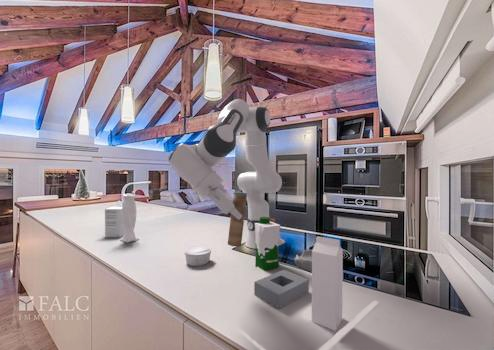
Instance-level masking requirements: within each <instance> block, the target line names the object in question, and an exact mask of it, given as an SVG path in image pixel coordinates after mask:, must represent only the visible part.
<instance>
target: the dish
mask: <svg viewBox="0 0 494 350" xmlns="http://www.w3.org/2000/svg"><path fill="white" fill-rule="evenodd" d="M312 250H313V249H305V250H303V251H302V254H301V255H300V256H299V255H298V254H296V255H295V257H294V264H295V265H296V266H297V268H298V269H300V270H303V271H306V272H311V273H312Z"/></svg>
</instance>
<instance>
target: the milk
mask: <svg viewBox="0 0 494 350" xmlns="http://www.w3.org/2000/svg"><path fill="white" fill-rule="evenodd" d="M311 250H312V272H311V322H312V323H315V324H317V325H319V326H323V327H325V328H327V329H330V330H333V331H335V332H336V331H337V329H338V327H339V325H340V324H341V322H342V320H343V284H344V283H343V280H344V279H343V277H344V276H343V274H344V272H343V269H344V268H343V266H344V264H343V263H344V261H343V260H344V258H343V255H344V253H343V252H344V250H343V248H342V247H341V242H340V240H339V239H338V238H337V239H335V238H330V237H326V236H325V237H323V236H318V235H317V236H316V238H315V243H314V246H313V249H311Z"/></svg>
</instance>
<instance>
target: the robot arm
mask: <svg viewBox="0 0 494 350" xmlns="http://www.w3.org/2000/svg"><path fill="white" fill-rule="evenodd" d="M270 124H271V115H270V111H269V109H268V108H267V107H264V106H257V107H249V104H248V103H247V102H246V101H245V100H244V99H242V98H236V99H233V100H232V101H229V103H228V104H227V105H225V106H224V107H223V109H222V110H221V111H220V113H219V115H218V117H217V120H216V124H213V125H211V126H209V127H208V129H207V130H206V132H205V134H204V135H203V137H202V139H201V140H200V141H199V143H196V144H190V145H189V144H185V143H183V142H181V143H179V144H178V145H176V147H175V148H174V149H173V151H171V154H170V155H169V157H168V164H169V165H170V167H171V168H172V169H173V171H175V173H176V174H177V175H178V176H179V177H180V178H181V179H182V180H184V181H185V182H186V183H188V184H189V185H190V187H191V189H193V191H194V192H195V193H196V194H197V195H198V196H199V197H200V198H201V199H202V200H205V199H208V200H209V201H212V202H213V204H214V205H215V206H217V208H218V209H219V210H221V212H222V213H224V214H225V215H228V214H230V215H231V214H232V215H234V216H235V217H236V218H237V219H238V220H240V219H241V218H242V214H241V213H240V212H238V210H237V209H236V208H235V206H234V203H233V196H231V194H229V192H228V191H227V190H226V189H225V186H224V184H223V183H222V182H223V181H224V179H223V178H222V177H221V176H220V175H219V174H218V173H217V172H216V171H215V170H214V169H215V168H217V167H218V165H219V164H220V163H221V162H223V160H224V159H225V158H226V157H227V156H228V155H229V154H230V153H232V152H233V151H234V150H235V148H236V145H237V144H236V143H237V134H238V133H245V135H244V136H245V137H244V139H245V140H244V143H245V158H246V161H247V163H248V164H250V165H251V166H252V167H253V169H254V170H255V171H246V172H242V173H239V175H238V176H237V179H236V180H237V181H236V185H237V187H238V189H239V190H241V192H244V193H247V199H246V204H247V213H248V215H247V216H248V217H247V219H246V221H247V225H246V226H247V232H246V238H245V239H246V240H245V243H244V246H245V247H247V248H250V249H255V250H256V232H255V223H257V222H260V217H268V218H269V221H270V222H273V223H276V222H275V221H276V219H275V218H270V204H269V202H268V201H267V200H265V199H264V198H263V197H262V193H263V194H271V193H277V192H279V191H280V190H281V188H282V186H283V180H282V177H281V175H280V174H279V173H278V172H276V170H274V168H273V167H272V165H271V163H270V161H269V156H268V147H267V146H268V145H267V137H266V130H267V129H268V128H269V126H270ZM285 241H286V240H284V239H282V238H281V234H280V231H279V242H278V247H280V246H282V245H283V244H285V243H286V242H285Z"/></svg>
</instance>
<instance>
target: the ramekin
mask: <svg viewBox="0 0 494 350" xmlns="http://www.w3.org/2000/svg"><path fill="white" fill-rule="evenodd" d="M211 253H212V249H211V248H210V247H208V246H204V245H196V246H190V247H188V248H185V250H184V255H185V263H186V264H187V265H188V266H192V267H200V266H201V267H202V266H204V265H206V264H208V263H209V262H210V257H211Z"/></svg>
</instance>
